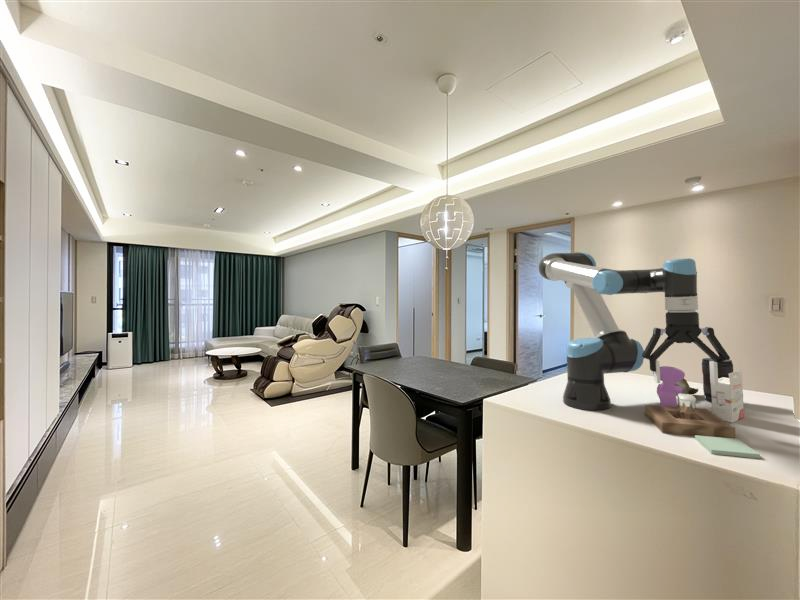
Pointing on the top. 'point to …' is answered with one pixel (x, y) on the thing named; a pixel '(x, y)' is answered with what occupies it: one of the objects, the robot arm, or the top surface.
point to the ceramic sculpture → (685, 387)
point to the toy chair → (669, 385)
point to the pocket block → (689, 422)
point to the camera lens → (726, 369)
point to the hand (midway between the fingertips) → (685, 383)
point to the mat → (726, 446)
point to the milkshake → (686, 406)
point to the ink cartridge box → (728, 398)
